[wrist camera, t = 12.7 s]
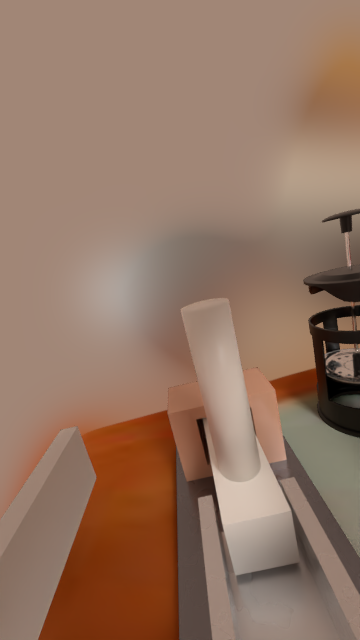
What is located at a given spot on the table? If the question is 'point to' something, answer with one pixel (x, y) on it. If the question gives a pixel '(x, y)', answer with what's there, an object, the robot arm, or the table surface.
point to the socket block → (190, 411)
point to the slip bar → (237, 446)
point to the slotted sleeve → (270, 584)
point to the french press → (337, 339)
